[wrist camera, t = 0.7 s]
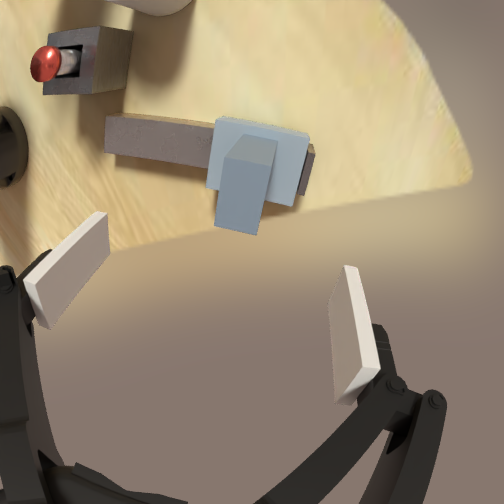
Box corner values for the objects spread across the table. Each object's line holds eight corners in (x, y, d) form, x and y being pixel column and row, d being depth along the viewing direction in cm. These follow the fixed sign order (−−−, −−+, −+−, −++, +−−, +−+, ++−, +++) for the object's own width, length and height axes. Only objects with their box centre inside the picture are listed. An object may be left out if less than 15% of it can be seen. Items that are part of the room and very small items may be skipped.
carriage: (213, 177, 38) (176, 228, 26) (223, 115, 34) (185, 137, 22) (292, 194, 38) (291, 254, 26) (308, 132, 33) (317, 164, 22)
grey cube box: (79, 87, 34) (42, 95, 27) (85, 35, 29) (48, 33, 23) (125, 88, 34) (91, 94, 27) (133, 31, 29) (100, 25, 23)
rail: (115, 147, 38) (96, 156, 34) (117, 112, 36) (97, 118, 31) (302, 181, 38) (304, 195, 34) (312, 144, 36) (315, 153, 31)
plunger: (76, 75, 30) (29, 83, 22) (79, 46, 28) (32, 48, 20) (100, 74, 30) (54, 81, 22) (104, 44, 28) (57, 43, 20)
